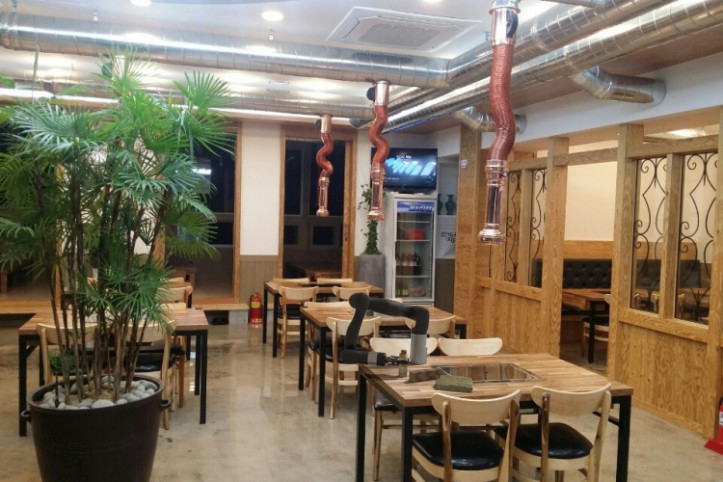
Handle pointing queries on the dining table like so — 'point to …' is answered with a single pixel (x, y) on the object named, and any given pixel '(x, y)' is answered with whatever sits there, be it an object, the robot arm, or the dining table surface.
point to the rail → (425, 374)
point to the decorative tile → (454, 383)
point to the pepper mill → (402, 368)
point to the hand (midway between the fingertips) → (408, 361)
